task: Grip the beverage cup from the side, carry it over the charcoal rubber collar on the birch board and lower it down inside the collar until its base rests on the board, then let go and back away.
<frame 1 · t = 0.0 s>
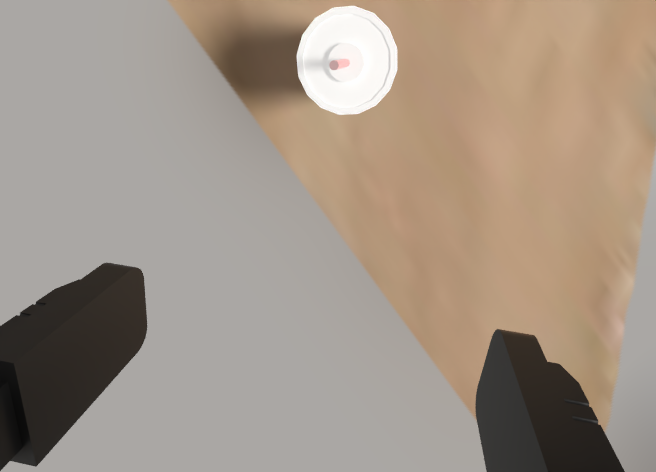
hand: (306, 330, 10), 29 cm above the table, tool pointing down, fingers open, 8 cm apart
beverage cup: (360, 59, 36), on the table
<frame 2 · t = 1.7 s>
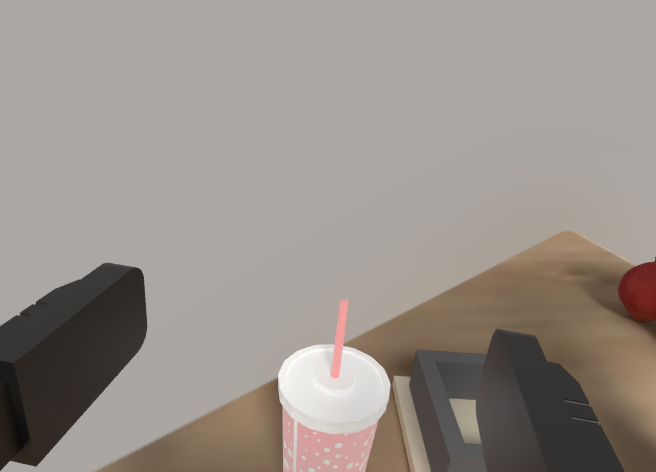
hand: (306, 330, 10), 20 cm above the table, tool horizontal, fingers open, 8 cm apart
onion: (637, 321, 51), on the table
collar: (487, 449, 33), on the table
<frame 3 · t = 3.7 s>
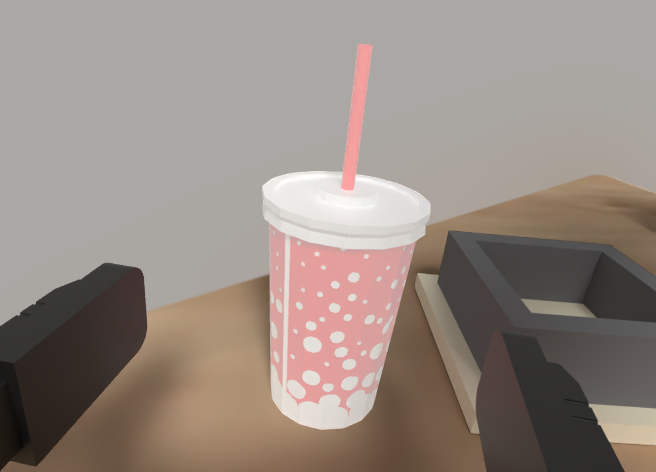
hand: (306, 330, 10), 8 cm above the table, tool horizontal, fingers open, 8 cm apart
beverage cup: (322, 392, 20), on the table
collar: (546, 351, 24), on the table
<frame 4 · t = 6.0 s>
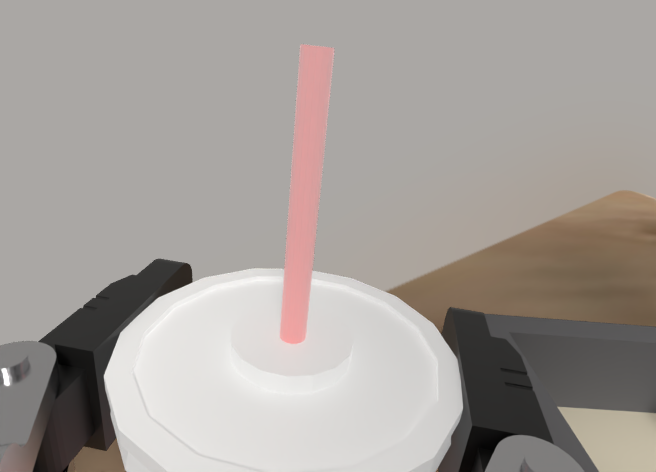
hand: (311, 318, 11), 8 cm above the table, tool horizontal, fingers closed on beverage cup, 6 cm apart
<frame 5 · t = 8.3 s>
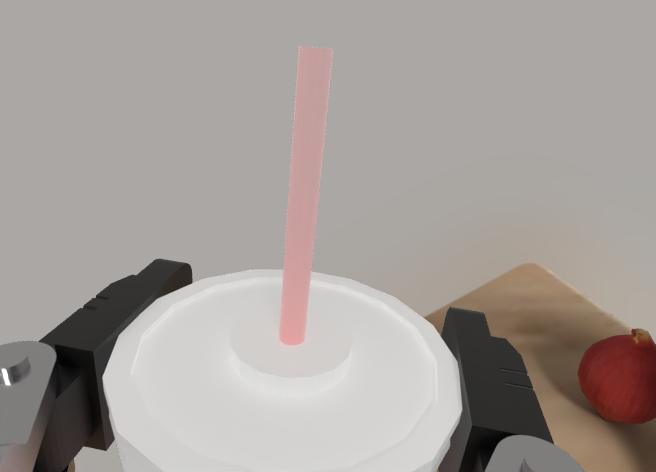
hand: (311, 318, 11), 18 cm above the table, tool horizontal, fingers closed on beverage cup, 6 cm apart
onion: (606, 419, 35), on the table
when the fingers open (10 cm above the table, at t = 11.0 s): beverage cup stays where it is, resting on collar.
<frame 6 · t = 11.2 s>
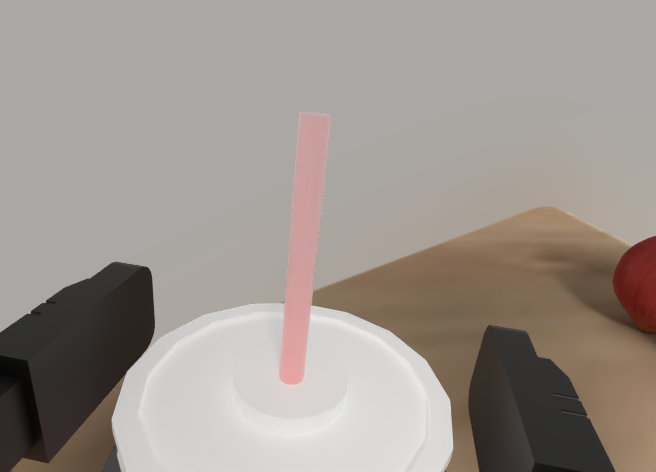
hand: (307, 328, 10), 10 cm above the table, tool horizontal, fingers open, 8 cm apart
onion: (644, 332, 31), on the table
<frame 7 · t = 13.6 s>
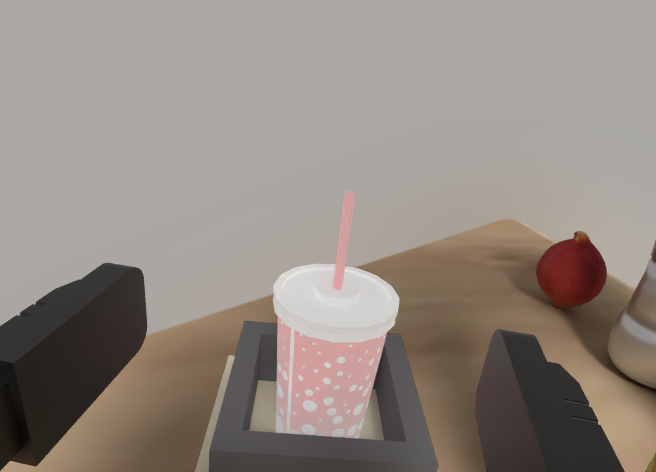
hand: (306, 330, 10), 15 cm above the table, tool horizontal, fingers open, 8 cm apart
beverage cup: (316, 435, 25), point 1 cm above the table, touching collar
plastic bottle: (644, 377, 36), on the table
onion: (558, 308, 45), on the table
collar: (315, 444, 26), on the table
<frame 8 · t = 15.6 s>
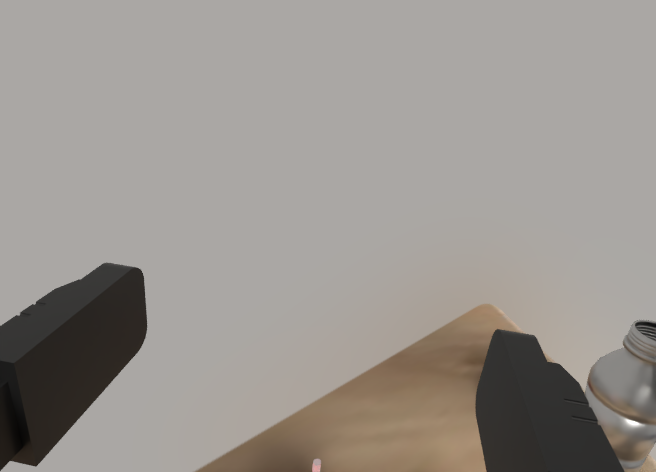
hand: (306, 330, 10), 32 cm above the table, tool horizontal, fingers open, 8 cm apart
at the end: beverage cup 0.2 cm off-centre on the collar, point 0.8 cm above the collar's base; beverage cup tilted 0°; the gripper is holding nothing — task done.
